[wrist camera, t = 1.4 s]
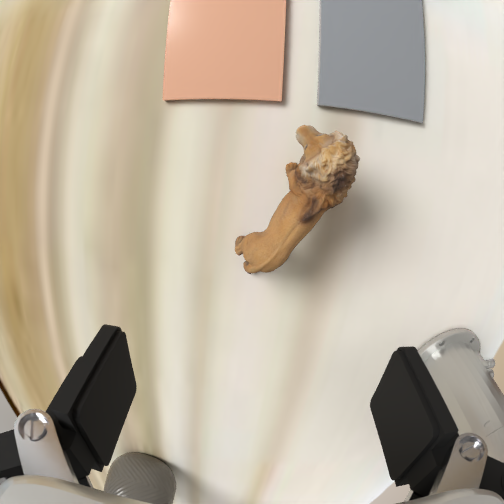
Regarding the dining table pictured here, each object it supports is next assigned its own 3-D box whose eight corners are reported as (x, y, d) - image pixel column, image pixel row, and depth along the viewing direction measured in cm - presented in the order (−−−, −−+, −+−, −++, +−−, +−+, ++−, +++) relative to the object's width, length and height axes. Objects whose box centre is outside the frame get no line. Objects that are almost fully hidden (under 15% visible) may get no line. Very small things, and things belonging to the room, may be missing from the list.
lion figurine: (294, 116, 24) (311, 111, 16) (348, 144, 25) (387, 155, 17) (224, 260, 30) (211, 313, 22) (275, 281, 31) (279, 339, 22)
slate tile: (414, -18, 18) (419, -22, 17) (417, 122, 24) (422, 122, 23) (318, -42, 18) (320, -47, 17) (315, 105, 24) (318, 104, 23)
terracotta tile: (286, -45, 18) (287, -51, 17) (280, 102, 24) (281, 101, 23) (180, -43, 18) (177, -49, 17) (166, 101, 25) (162, 100, 23)
